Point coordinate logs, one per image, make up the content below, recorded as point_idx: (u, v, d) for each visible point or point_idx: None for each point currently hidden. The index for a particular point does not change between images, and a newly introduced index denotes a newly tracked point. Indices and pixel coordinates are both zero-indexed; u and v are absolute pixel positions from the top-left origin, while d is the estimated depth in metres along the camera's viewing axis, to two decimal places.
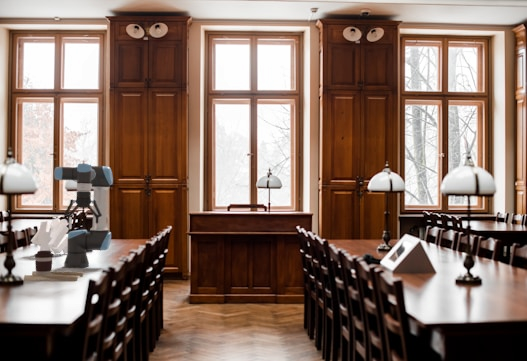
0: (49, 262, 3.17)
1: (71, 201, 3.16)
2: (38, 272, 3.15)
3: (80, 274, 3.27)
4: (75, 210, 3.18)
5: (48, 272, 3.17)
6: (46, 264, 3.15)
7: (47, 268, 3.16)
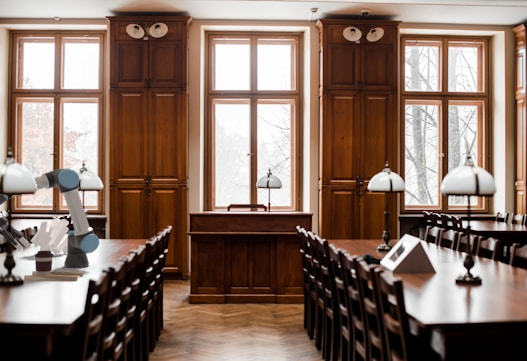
0: (49, 262, 3.17)
1: None
2: (38, 272, 3.15)
3: (80, 274, 3.27)
4: (15, 233, 3.21)
5: (48, 272, 3.17)
6: (46, 264, 3.15)
7: (47, 268, 3.16)
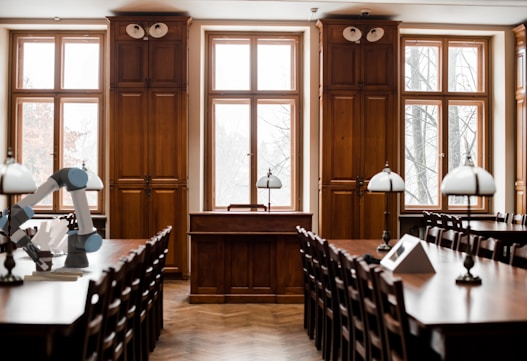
0: (49, 262, 3.17)
1: None
2: (38, 272, 3.15)
3: (80, 274, 3.27)
4: None
5: (48, 272, 3.17)
6: (46, 264, 3.15)
7: (47, 268, 3.16)
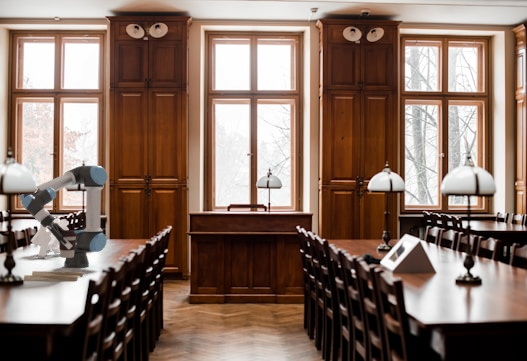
0: (73, 241, 3.18)
1: None
2: (62, 251, 3.16)
3: (80, 274, 3.27)
4: None
5: (72, 251, 3.18)
6: (70, 243, 3.17)
7: (71, 247, 3.17)
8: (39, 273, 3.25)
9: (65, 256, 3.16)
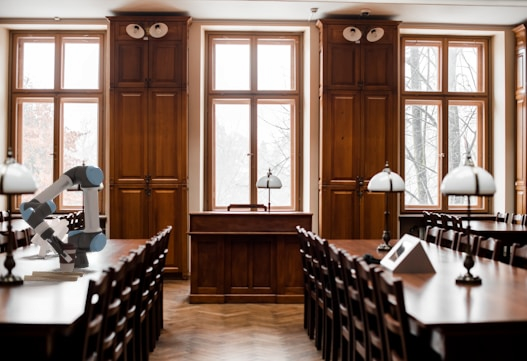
0: (73, 254, 3.18)
1: None
2: (62, 264, 3.16)
3: (80, 274, 3.27)
4: None
5: (72, 264, 3.18)
6: (70, 256, 3.16)
7: (71, 260, 3.17)
8: (39, 273, 3.25)
9: (65, 269, 3.16)
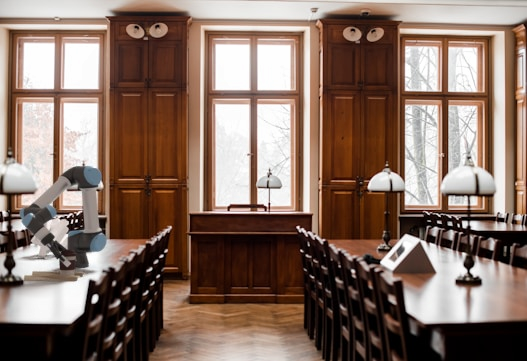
0: (73, 261, 3.18)
1: None
2: (62, 271, 3.16)
3: (80, 274, 3.27)
4: (61, 249, 3.24)
5: (72, 271, 3.18)
6: None
7: (71, 267, 3.17)
8: (39, 273, 3.25)
9: None
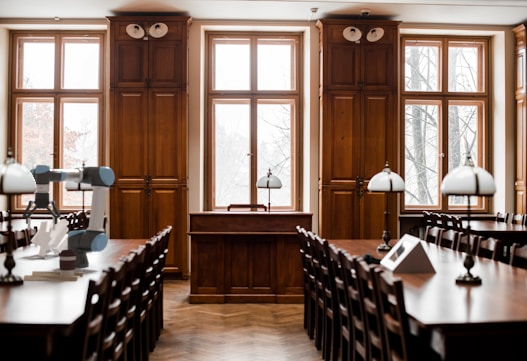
0: (73, 261, 3.18)
1: (29, 202, 3.18)
2: (62, 271, 3.16)
3: (80, 274, 3.27)
4: None
5: (72, 271, 3.18)
6: (70, 263, 3.16)
7: (71, 267, 3.17)
8: (39, 273, 3.25)
9: None
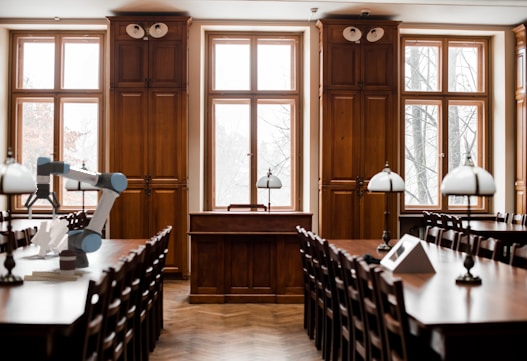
0: (73, 261, 3.18)
1: None
2: (62, 271, 3.16)
3: (80, 274, 3.27)
4: (35, 201, 3.34)
5: (72, 271, 3.18)
6: (70, 263, 3.16)
7: (71, 267, 3.17)
8: (39, 273, 3.25)
9: None
